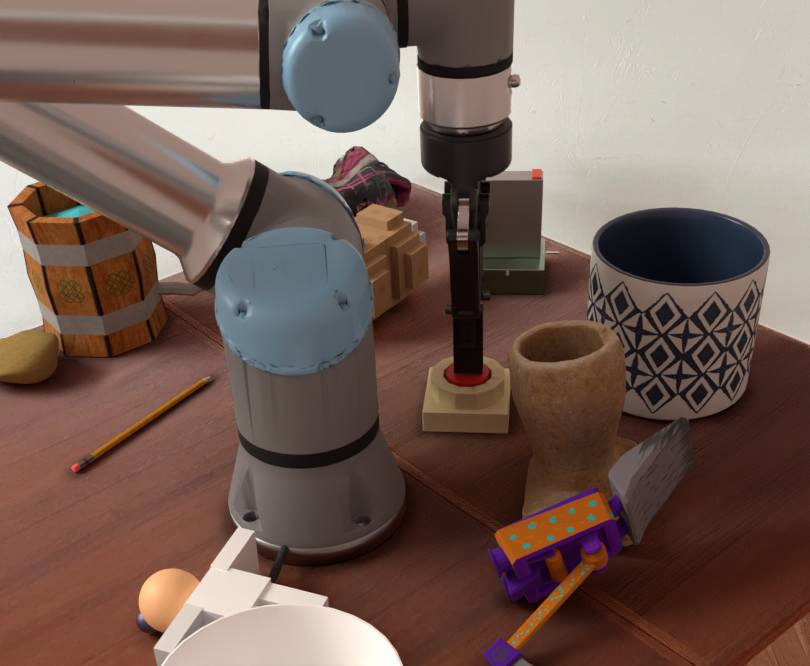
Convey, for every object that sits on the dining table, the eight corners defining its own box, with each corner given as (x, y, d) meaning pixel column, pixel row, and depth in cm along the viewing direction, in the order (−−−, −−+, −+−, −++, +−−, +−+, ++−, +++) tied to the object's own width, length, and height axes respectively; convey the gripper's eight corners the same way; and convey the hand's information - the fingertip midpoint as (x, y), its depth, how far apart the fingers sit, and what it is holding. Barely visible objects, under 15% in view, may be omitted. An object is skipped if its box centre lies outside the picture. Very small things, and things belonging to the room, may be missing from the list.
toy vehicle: (695, 471, 90) (787, 623, 82) (455, 578, 92) (521, 737, 83) (686, 407, 83) (786, 566, 74) (426, 524, 84) (495, 692, 76)
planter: (571, 342, 117) (579, 211, 108) (723, 333, 117) (744, 202, 108) (596, 429, 105) (607, 290, 96) (766, 420, 105) (793, 280, 96)
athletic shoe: (261, 219, 127) (357, 228, 123) (329, 102, 138) (420, 107, 134) (287, 294, 136) (378, 304, 132) (350, 179, 147) (435, 185, 143)
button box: (507, 433, 105) (508, 397, 103) (422, 431, 106) (421, 395, 104) (510, 387, 111) (511, 352, 109) (430, 385, 112) (429, 350, 110)
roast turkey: (449, 287, 127) (447, 203, 121) (353, 360, 116) (346, 271, 110) (377, 267, 132) (372, 184, 125) (279, 334, 121) (268, 248, 114)
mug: (46, 368, 118) (5, 234, 108) (44, 308, 128) (7, 181, 118) (231, 335, 121) (209, 202, 111) (216, 280, 131) (193, 153, 121)
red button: (487, 399, 106) (487, 383, 104) (445, 398, 106) (444, 382, 105) (489, 376, 109) (489, 360, 107) (448, 375, 109) (448, 360, 108)
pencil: (77, 474, 103) (74, 466, 103) (72, 472, 104) (69, 465, 103) (216, 379, 115) (214, 372, 115) (211, 377, 115) (209, 371, 115)
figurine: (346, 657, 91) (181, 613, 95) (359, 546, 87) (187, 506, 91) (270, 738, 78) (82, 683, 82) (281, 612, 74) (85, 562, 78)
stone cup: (516, 440, 104) (520, 294, 94) (647, 452, 102) (665, 304, 92) (489, 545, 93) (490, 392, 83) (634, 562, 91) (653, 406, 81)
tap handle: (477, 257, 126) (477, 177, 120) (478, 247, 128) (478, 168, 122) (540, 257, 126) (543, 177, 120) (540, 247, 127) (543, 168, 121)
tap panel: (557, 301, 124) (559, 275, 122) (456, 300, 125) (456, 274, 123) (558, 255, 132) (559, 230, 130) (463, 254, 134) (462, 229, 132)
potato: (84, 339, 117) (41, 377, 111) (55, 381, 122) (12, 419, 116) (29, 292, 115) (-17, 329, 109) (2, 337, 120) (-43, 374, 114)
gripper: (509, 149, 85) (506, 409, 101) (515, 89, 95) (510, 334, 110) (411, 149, 86) (422, 407, 101) (426, 90, 96) (434, 333, 111)
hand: (468, 369), depth 106 cm, fingers closed
